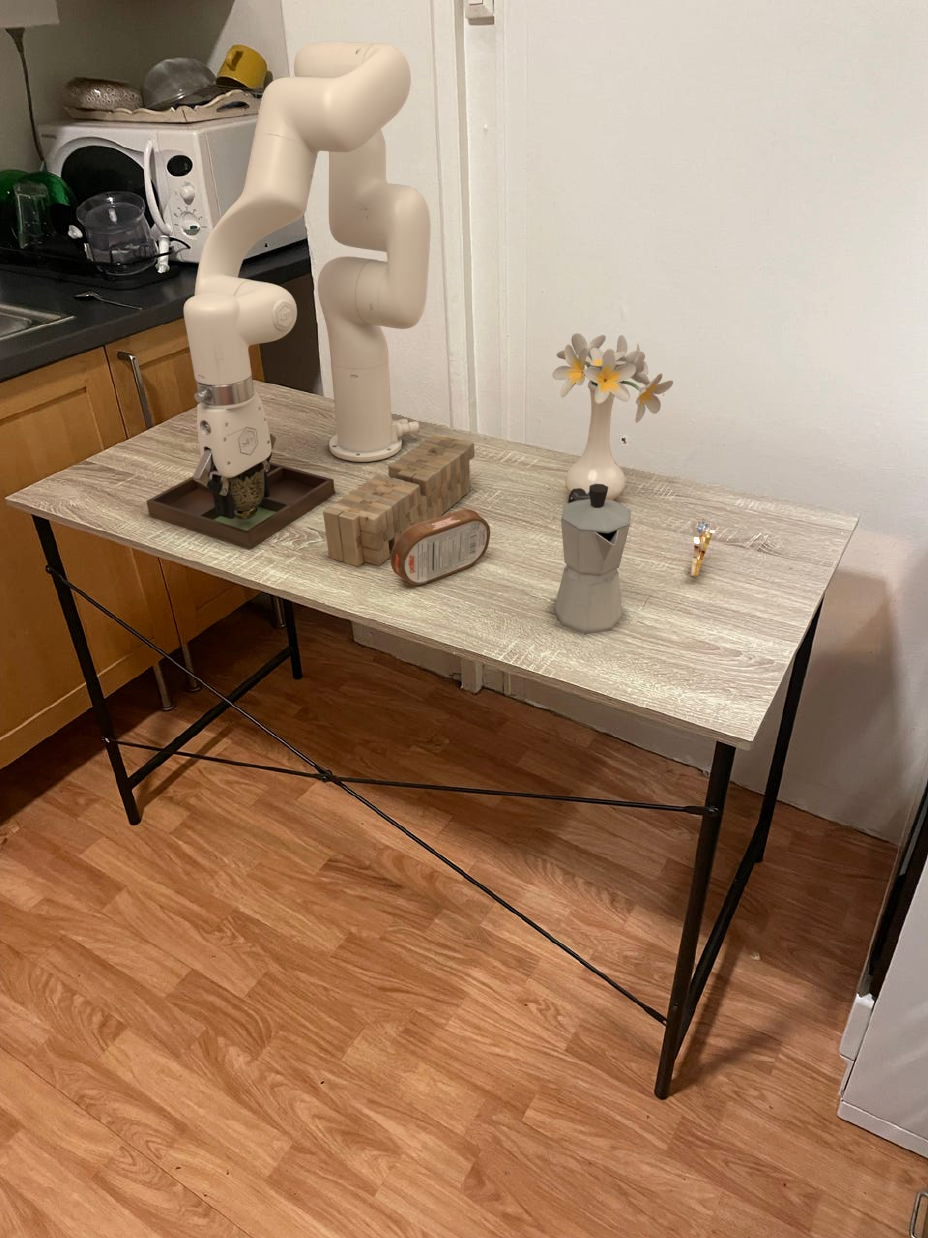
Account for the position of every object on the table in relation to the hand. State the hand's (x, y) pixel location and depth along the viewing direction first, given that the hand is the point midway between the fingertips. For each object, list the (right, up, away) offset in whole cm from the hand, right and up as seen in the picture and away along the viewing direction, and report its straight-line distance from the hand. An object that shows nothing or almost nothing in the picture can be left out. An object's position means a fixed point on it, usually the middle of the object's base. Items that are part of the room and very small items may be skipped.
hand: (243, 504), depth 135 cm
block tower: (+24, -2, +3) cm, 24 cm away
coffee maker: (+48, -16, -17) cm, 53 cm away
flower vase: (+54, +1, +8) cm, 54 cm away
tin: (+30, -11, -9) cm, 33 cm away
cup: (0, -2, +1) cm, 2 cm away
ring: (+64, -11, -10) cm, 66 cm away
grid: (-2, +1, +7) cm, 8 cm away
